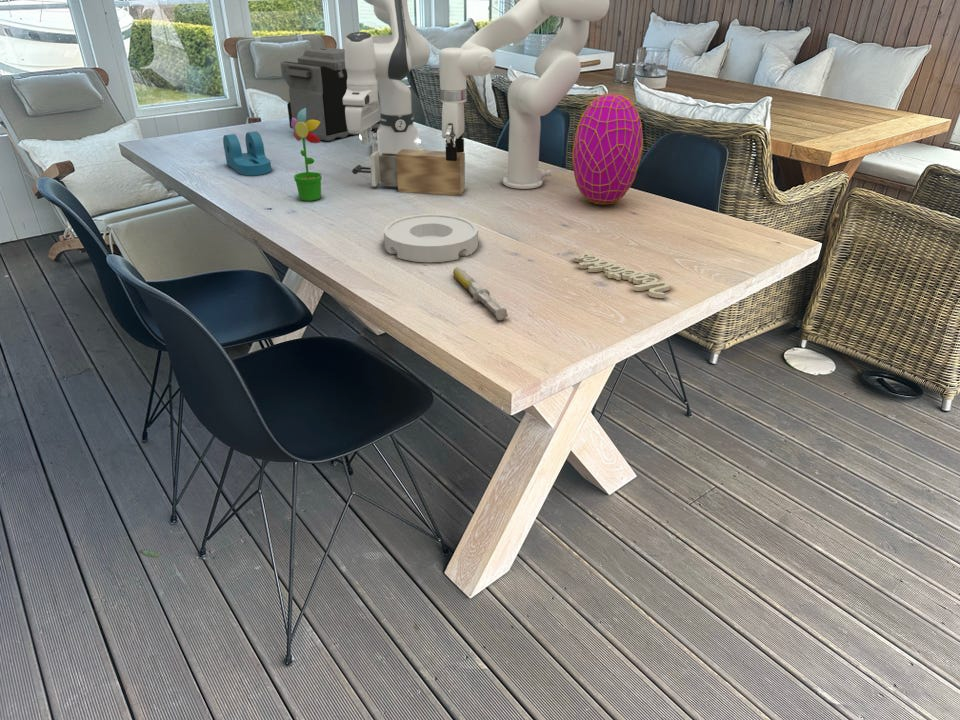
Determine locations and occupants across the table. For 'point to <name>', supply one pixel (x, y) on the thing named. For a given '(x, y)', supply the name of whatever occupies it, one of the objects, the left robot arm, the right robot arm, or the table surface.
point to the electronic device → (319, 91)
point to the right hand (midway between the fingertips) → (455, 156)
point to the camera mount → (246, 154)
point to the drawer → (381, 169)
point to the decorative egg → (607, 148)
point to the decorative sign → (625, 274)
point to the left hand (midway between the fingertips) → (366, 142)
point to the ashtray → (431, 237)
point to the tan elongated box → (430, 172)
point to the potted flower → (307, 180)
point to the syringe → (479, 293)
